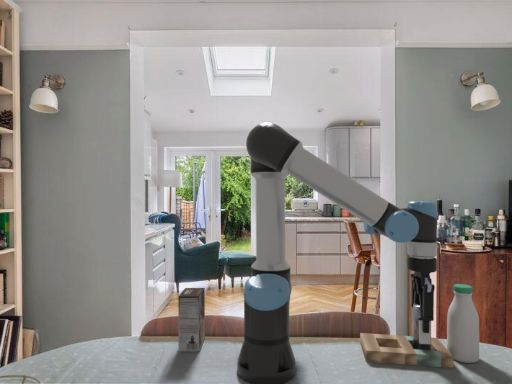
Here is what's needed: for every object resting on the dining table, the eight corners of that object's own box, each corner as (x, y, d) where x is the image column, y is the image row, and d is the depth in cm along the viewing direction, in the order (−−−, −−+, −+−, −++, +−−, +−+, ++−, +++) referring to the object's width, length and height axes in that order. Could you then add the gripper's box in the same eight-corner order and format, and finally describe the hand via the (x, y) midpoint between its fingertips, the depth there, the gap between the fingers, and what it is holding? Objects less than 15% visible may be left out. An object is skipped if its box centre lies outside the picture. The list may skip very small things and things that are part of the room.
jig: (365, 361, 95) (365, 350, 95) (360, 342, 107) (360, 332, 107) (453, 368, 91) (453, 356, 91) (437, 348, 103) (437, 337, 103)
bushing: (415, 351, 96) (415, 308, 96) (410, 344, 101) (411, 302, 101) (433, 353, 96) (433, 309, 96) (427, 345, 100) (428, 303, 100)
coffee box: (184, 338, 110) (184, 287, 110) (205, 338, 110) (205, 287, 110) (177, 351, 101) (178, 295, 101) (200, 352, 101) (200, 296, 101)
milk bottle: (484, 365, 93) (484, 290, 93) (452, 362, 95) (452, 288, 95) (472, 352, 101) (472, 282, 101) (443, 350, 102) (443, 281, 102)
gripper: (448, 263, 89) (447, 354, 89) (426, 251, 106) (426, 328, 106) (416, 262, 90) (416, 352, 90) (400, 250, 108) (400, 326, 108)
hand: (421, 339), depth 98 cm, fingers closed on bushing, 5 cm apart
